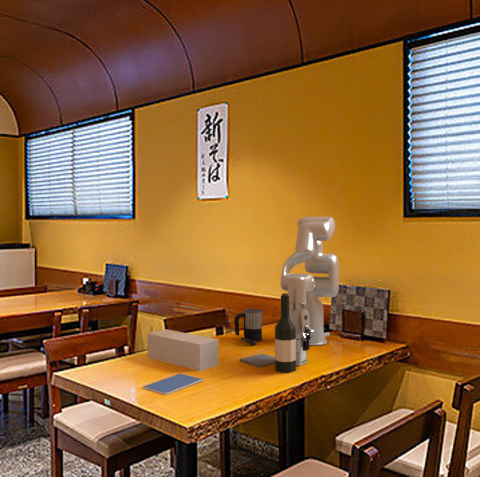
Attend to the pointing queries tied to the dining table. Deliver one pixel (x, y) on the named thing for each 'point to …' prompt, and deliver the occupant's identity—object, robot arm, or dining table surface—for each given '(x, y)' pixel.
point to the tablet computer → (172, 384)
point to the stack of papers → (183, 349)
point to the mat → (259, 360)
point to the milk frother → (250, 325)
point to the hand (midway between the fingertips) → (297, 348)
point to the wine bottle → (285, 340)
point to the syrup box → (300, 351)
